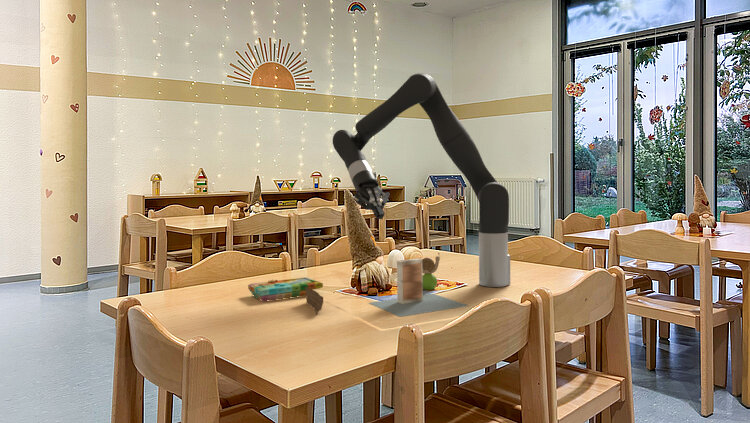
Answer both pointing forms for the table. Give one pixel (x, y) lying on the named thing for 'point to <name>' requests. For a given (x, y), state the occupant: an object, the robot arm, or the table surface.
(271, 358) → the table surface
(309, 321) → the table surface
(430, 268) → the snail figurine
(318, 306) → the wood plank
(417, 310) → the felt mat
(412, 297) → the picture domino
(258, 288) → the puzzle game
